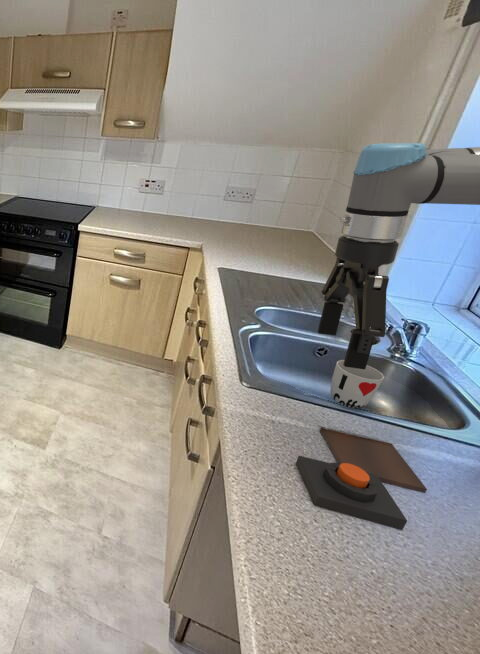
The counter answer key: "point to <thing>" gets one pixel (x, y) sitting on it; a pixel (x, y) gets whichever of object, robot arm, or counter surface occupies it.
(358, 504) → the console
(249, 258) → the counter surface
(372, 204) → the robot arm
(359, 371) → the cup
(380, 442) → the trivet
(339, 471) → the console button
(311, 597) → the counter surface
